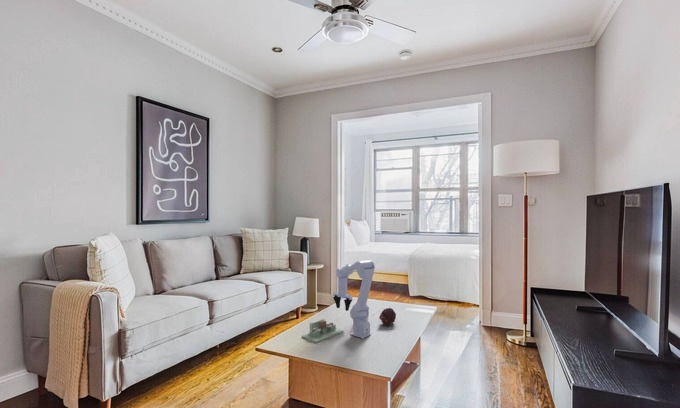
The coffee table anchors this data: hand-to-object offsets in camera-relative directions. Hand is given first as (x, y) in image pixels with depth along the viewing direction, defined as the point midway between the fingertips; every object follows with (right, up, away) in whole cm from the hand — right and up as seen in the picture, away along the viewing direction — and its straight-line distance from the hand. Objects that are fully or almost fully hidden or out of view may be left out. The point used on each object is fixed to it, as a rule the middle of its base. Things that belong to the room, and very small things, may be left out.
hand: (342, 309), depth 222 cm
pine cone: (+29, -10, +2) cm, 31 cm away
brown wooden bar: (-12, -6, -17) cm, 21 cm away
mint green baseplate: (-12, -10, -17) cm, 23 cm away
